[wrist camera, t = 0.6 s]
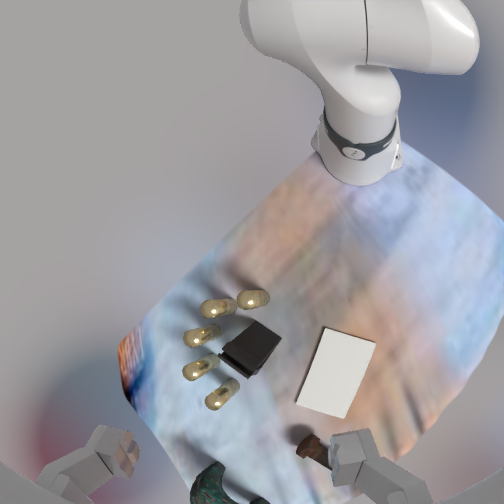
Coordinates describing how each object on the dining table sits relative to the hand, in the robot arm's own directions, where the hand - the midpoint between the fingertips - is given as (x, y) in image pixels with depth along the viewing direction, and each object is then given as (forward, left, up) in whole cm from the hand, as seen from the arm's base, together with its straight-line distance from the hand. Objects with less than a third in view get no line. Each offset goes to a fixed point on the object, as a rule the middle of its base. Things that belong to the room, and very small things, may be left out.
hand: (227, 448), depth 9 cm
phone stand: (+8, -9, -43) cm, 45 cm away
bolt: (+26, +14, -43) cm, 53 cm away
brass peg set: (+8, -14, -43) cm, 46 cm away
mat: (+8, +7, -43) cm, 44 cm away
